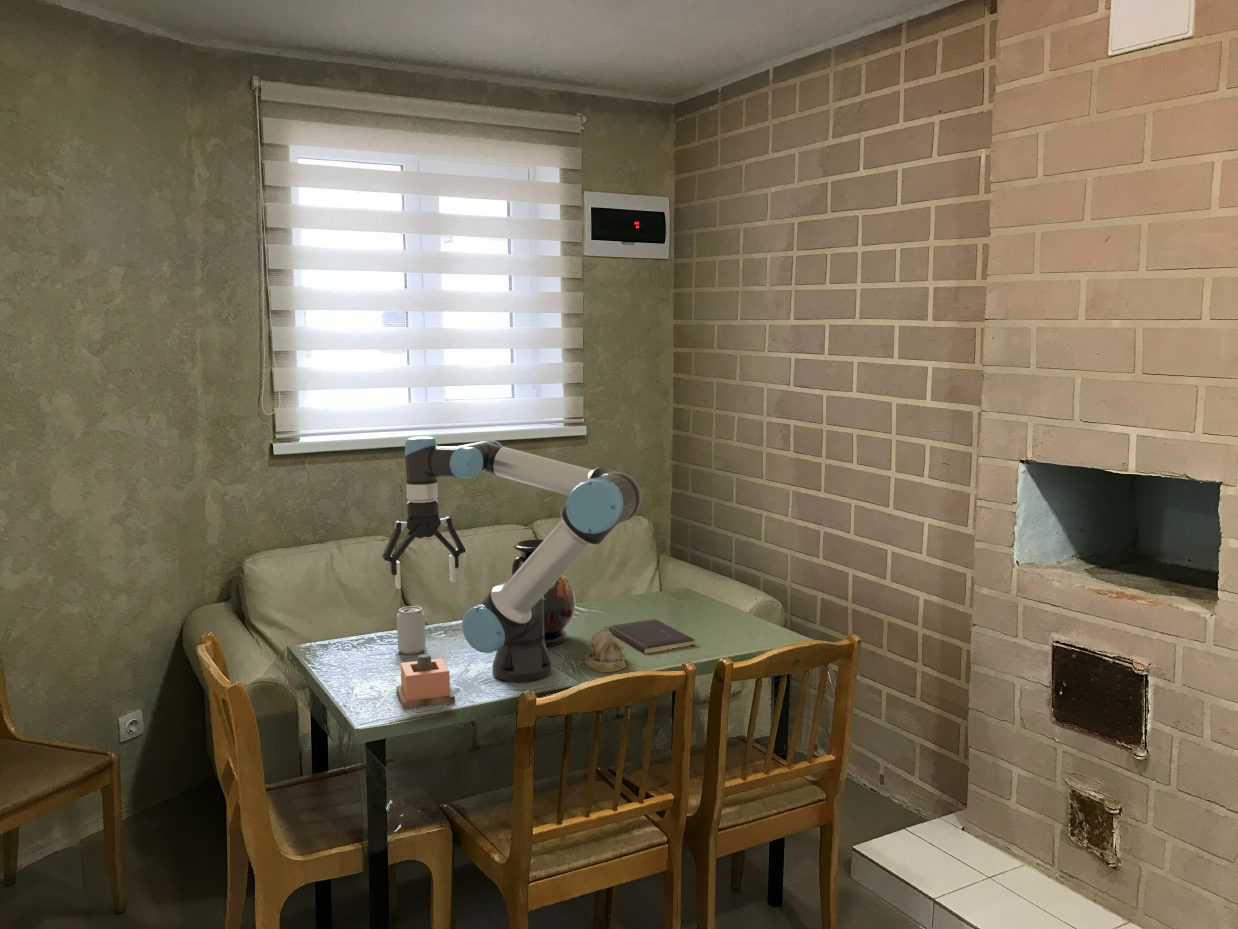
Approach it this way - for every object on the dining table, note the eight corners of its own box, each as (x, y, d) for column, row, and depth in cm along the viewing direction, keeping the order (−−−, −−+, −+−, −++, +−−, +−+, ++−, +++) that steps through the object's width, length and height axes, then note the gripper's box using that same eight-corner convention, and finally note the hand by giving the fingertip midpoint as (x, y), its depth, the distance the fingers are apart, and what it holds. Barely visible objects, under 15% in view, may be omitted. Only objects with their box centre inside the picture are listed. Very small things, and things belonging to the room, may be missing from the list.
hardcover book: (655, 626, 290) (655, 618, 290) (694, 647, 270) (694, 639, 269) (607, 633, 283) (607, 626, 283) (643, 656, 263) (643, 647, 262)
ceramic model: (580, 657, 260) (579, 621, 259) (620, 654, 263) (620, 618, 262) (592, 674, 247) (592, 636, 246) (634, 670, 250) (634, 632, 249)
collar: (442, 681, 237) (442, 658, 237) (450, 695, 228) (449, 671, 227) (401, 687, 234) (400, 662, 233) (406, 701, 225) (406, 676, 224)
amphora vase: (541, 657, 260) (539, 554, 257) (484, 642, 273) (481, 545, 270) (591, 637, 277) (590, 541, 274) (535, 625, 290) (533, 533, 287)
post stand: (446, 685, 239) (445, 646, 238) (455, 702, 228) (453, 661, 226) (396, 692, 235) (395, 652, 234) (403, 709, 224) (401, 667, 222)
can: (411, 645, 272) (409, 603, 270) (431, 649, 268) (430, 607, 266) (392, 652, 265) (390, 609, 264) (412, 657, 261) (411, 613, 260)
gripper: (467, 494, 247) (470, 575, 249) (368, 501, 236) (372, 586, 239) (476, 498, 240) (478, 582, 242) (373, 506, 230) (377, 593, 232)
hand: (425, 584), depth 241 cm, fingers open, 13 cm apart
